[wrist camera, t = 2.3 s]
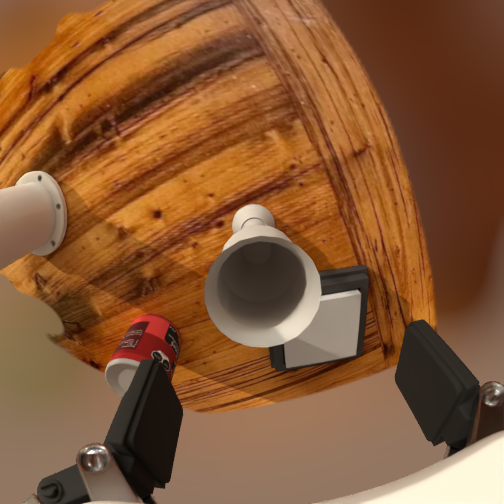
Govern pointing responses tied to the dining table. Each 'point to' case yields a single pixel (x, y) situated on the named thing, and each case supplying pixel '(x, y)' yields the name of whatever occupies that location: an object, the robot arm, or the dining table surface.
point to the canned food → (143, 350)
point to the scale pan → (328, 331)
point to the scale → (329, 284)
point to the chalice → (261, 283)
